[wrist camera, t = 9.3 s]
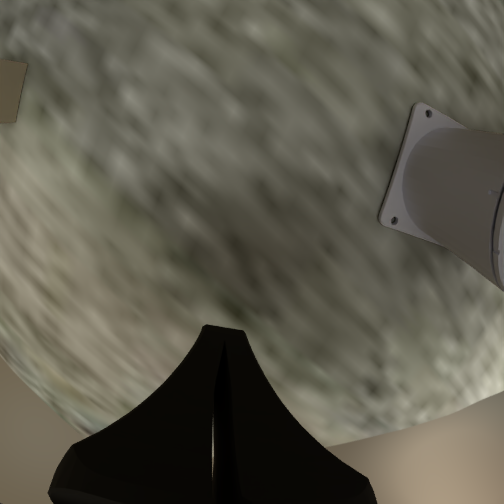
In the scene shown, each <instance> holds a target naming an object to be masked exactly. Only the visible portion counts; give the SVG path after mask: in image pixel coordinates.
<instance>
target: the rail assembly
mask: <svg viewBox="0 0 504 504" xmlns="http://www.w3.org/2000/svg"><path fill="white" fill-rule="evenodd" d="M27 66H28V64H27V63H22V62H16V61H10V60H4V59H0V124H1V123H12V122H16V117H17V111H18V106H19V100H20V96H21V91H22V86H23V82H24V78H25V73H26V69H27Z"/></svg>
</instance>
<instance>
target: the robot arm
mask: <svg viewBox="0 0 504 504" xmlns="http://www.w3.org/2000/svg"><path fill="white" fill-rule="evenodd" d="M426 110H427V111H428V112H429V116H428V117H426V115H425V112H426ZM393 217H395V218H396V220H395V222H394V223H391V219H392V218H393ZM378 219H379V222H380V223H381V224H382V225H384V226H386V227H389V228H392V229H395V230H398V231H401V232H404V233H406V234H409V235H412V236H415V237H418V238H421V239H424V240H426V241H429V242H432V243H435V244H438V245H440V246H443V247H445V248H447V249H448V250H450V251H451V252H452V253H454V254H455V255H457V256H458V257H459V258H461V259H462V260H463V261H465V262H466V263H467V264H469V265H470V266H471V267H473V268H474V269H475V270H477V271H478V272H479V273H480V274H482V275H483V276H484V277H486V278H487V279H488V280H489V281H491V282H492V283H493V284H494V285H496V286H497V287H498V288H499V289H501V290H502V291H503V292H504V134H500V133H493V132H486V131H478V130H470V129H468V128H466V127H465V126H463V125H462V124H460V123H458V122H457V121H455V120H453V119H452V118H450V117H448V116H446V115H445V114H443V113H441V112H439V111H438V110H436V109H434V108H432V107H430V106H429V105H427V104H425V103H422V102H418V103H415V104H414V106H413V109H412V112H411V116H410V120H409V123H408V127H407V130H406V134H405V137H404V141H403V144H402V147H401V151H400V154H399V157H398V160H397V163H396V167H395V170H394V173H393V176H392V179H391V182H390V185H389V188H388V191H387V194H386V196H385V199H384V202H383V205H382V208H381V211H380V213H379V217H378ZM212 427H213V432H214V465H213V478H212ZM48 495H49V497H50V499H51V501H52V502H53V504H377V501H376V497H375V494H374V491H373V489H372V486H371V484H370V482H369V479H368V478H367V477H365V476H364V475H362V474H361V473H359V472H357V471H356V470H354V469H353V468H351V467H350V466H348V465H347V464H345V463H344V462H342V461H341V460H339V459H338V458H337V457H336V456H334V455H333V454H332V453H331V452H329V451H328V450H326V448H324V447H323V446H322V445H321V444H320V443H319V442H318V441H317V440H316V439H315V438H314V437H312V436H311V435H310V434H309V433H308V432H307V431H306V430H305V429H304V428H303V427H302V426H301V425H300V423H299V422H298V421H297V420H296V419H295V418H294V417H293V415H292V414H291V413H290V412H289V410H288V409H287V408H286V407H285V405H284V404H283V403H282V401H281V400H280V399H279V397H278V396H277V394H276V393H275V391H274V390H273V388H272V387H271V385H270V383H269V382H268V380H267V378H266V377H265V375H264V373H263V371H262V369H261V367H260V366H259V364H258V362H257V360H256V358H255V355H254V353H253V351H252V349H251V346H250V344H249V342H248V339H247V336H246V333H245V332H244V331H243V330H237V329H231V328H225V327H219V326H213V325H208V324H206V325H204V326H203V327H202V330H201V332H200V335H199V337H198V338H197V340H196V342H195V344H194V345H193V347H192V348H191V350H190V351H189V353H188V354H187V355H186V357H185V358H184V360H183V361H182V362H181V363H180V365H179V366H178V367H177V368H176V369H175V371H174V372H173V373H172V374H171V375H170V376H169V378H168V379H167V380H166V381H165V382H164V383H163V384H162V385H161V386H160V387H159V388H158V389H157V390H156V391H155V392H153V393H152V394H151V395H150V396H149V397H148V398H147V399H145V400H144V401H143V402H142V403H141V404H139V405H138V406H137V407H136V408H134V409H133V410H132V411H130V412H129V413H128V414H126V415H125V416H123V417H122V418H120V419H119V420H117V421H115V422H114V423H112V424H111V425H109V426H108V427H106V428H104V429H103V430H101V431H99V432H97V433H95V434H93V435H91V436H89V437H87V438H85V439H83V440H81V441H79V442H77V443H75V444H73V445H72V446H71V447H70V448H69V450H68V451H67V452H66V454H65V455H64V457H63V459H62V460H61V462H60V464H59V465H58V467H57V469H56V471H55V474H54V476H53V479H52V482H51V485H50V488H49V491H48ZM0 504H2V503H0Z"/></svg>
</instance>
